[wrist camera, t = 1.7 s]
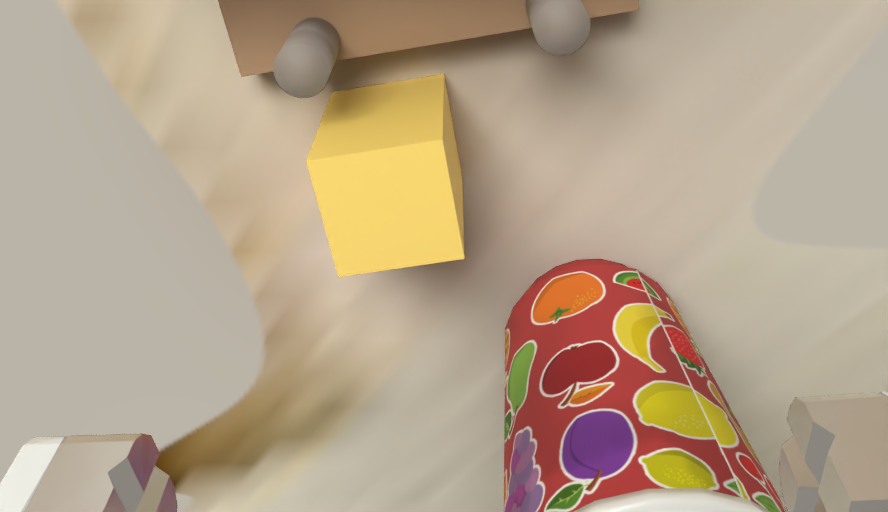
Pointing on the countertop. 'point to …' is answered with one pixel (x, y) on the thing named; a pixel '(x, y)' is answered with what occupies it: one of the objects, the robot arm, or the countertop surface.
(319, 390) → the countertop surface
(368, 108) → the yellow block
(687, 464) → the smoothie
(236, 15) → the peg board
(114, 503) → the robot arm
